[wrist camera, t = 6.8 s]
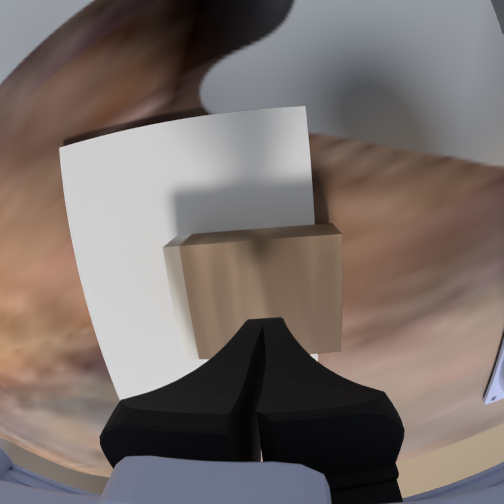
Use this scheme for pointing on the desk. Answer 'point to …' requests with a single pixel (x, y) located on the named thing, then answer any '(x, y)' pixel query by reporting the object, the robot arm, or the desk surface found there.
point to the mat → (173, 219)
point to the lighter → (499, 12)
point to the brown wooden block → (257, 285)
